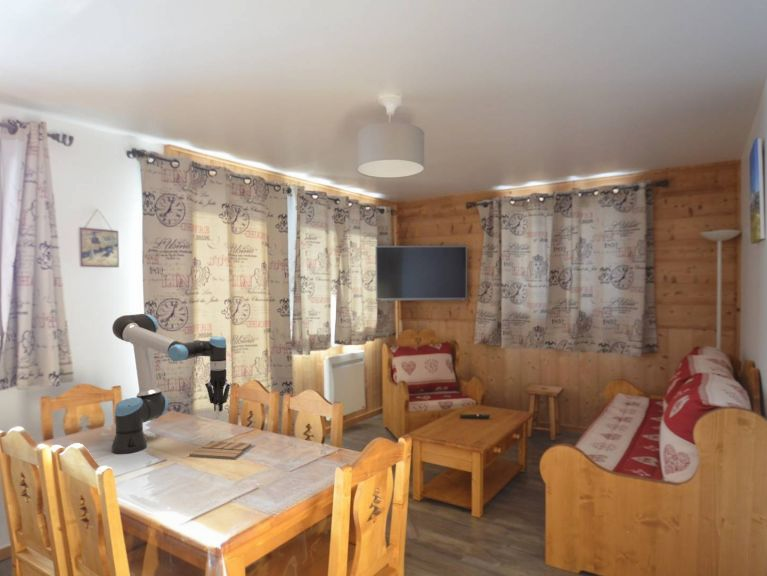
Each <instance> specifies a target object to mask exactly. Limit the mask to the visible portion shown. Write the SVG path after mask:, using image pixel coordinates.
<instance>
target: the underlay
mask: <svg viewBox="0 0 767 576" xmlns="http://www.w3.org/2000/svg"><path fill="white" fill-rule="evenodd" d="M256 446H257V445H256V444H251V446H250V447H249V448H247V449H246V450H245V451H240V450H224V449H208V448H202V447H199V448H197V449H195V450H194V451H192V452H190V453H189V455H188V456H186V457H187V458H198V459H213V460H227V461H229V460H230V461H237V460H239V459H240V458H241V457H242V456H244V455H245V454H246V453H248V452H249V451H250V450H252V449H253V448H254V447H256Z"/></svg>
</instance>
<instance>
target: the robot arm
mask: <svg viewBox="0 0 767 576" xmlns="http://www.w3.org/2000/svg"><path fill="white" fill-rule="evenodd" d="M158 329H159V324H158V321H157V318H155V316H153V315H152V314H148V313H137V314H129V315H127V314H126V315H121V316H119V317H118V318H116V319H115V320H114V322H113V324H112V333H113V334H114V336H115V337H116V338H117V339H118V340H121V341H124V342H127V343H130V344H131V345H132V346H133V353H134V354H133V355H134V360H135V368H136V376H137V384H138V385H137V386H138V391H139V392H138V393H137V394H136V397H130V398H126V399H122V400H121V401H119V402H117V403H116V405H115V412H114V414H115V415H114V417H115V436H114V439H113V442H112V445H111V452H112V453H113V454H118V455H119V454H121V455H123V454H131V453H132V454H133V453H136V452H141V451H143V450H145V449H146V448H147V447H148V441H147V438H146V435H145V433H144V428H143V427H144V423H147V422H148V421H152V420H156V419H158V418H160V417H162V416H164V415H165V414H166V412H167V411H168V407H169V399H168V398H167V397H166V395H165V394H164V393H162V390H161V389H160V388H158V386H159V385H158V379H157V373H156V372H157V371H156V366H155V356H154V351H156V352H158V353H161V354H163V355H166V356H168V357H169V359H170V360H171V361H173V362H182V361H184V360H190V359H194V358H198V357H209V369H210V370H209V377H210V379H209V381H208V382H207V383H205V384H204V386H205V387H206V391H207V395H208V399H209V403H210V404H213V410H214V412H215V419H221V418H222V412H223V410H224V404H227V402H228V398H229V394H230V393H229V392H230V389H231V387H232V383H229V382H228V379H227V347H228V346H227V339H226V337H224V336H213V337H210V338H209V340H200V339H197V340H190V341H189V342H181V341H178V340H175V339H172V338H170V337H168V336H164V335H162V334H159V333H157V331H158Z"/></svg>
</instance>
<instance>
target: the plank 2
mask: <svg viewBox="0 0 767 576" xmlns="http://www.w3.org/2000/svg"><path fill="white" fill-rule="evenodd" d="M230 442H231V443H230V444H228V445H227V446H225V447H224V448H222V449H224V450H240V451H245V450H246V449H247V448H249V447H250V446H251V445H252V443H251V442H236V441H233V442H232V441H230Z"/></svg>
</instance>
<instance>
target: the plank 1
mask: <svg viewBox="0 0 767 576" xmlns="http://www.w3.org/2000/svg"><path fill="white" fill-rule="evenodd" d="M231 442H232V441H216V440H212V441H210V442H208V443H206V444H205V445H203V446H202V447H201V448H208V449H222V448H224V447H225V446H227V445H228V444H230V443H231Z"/></svg>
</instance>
